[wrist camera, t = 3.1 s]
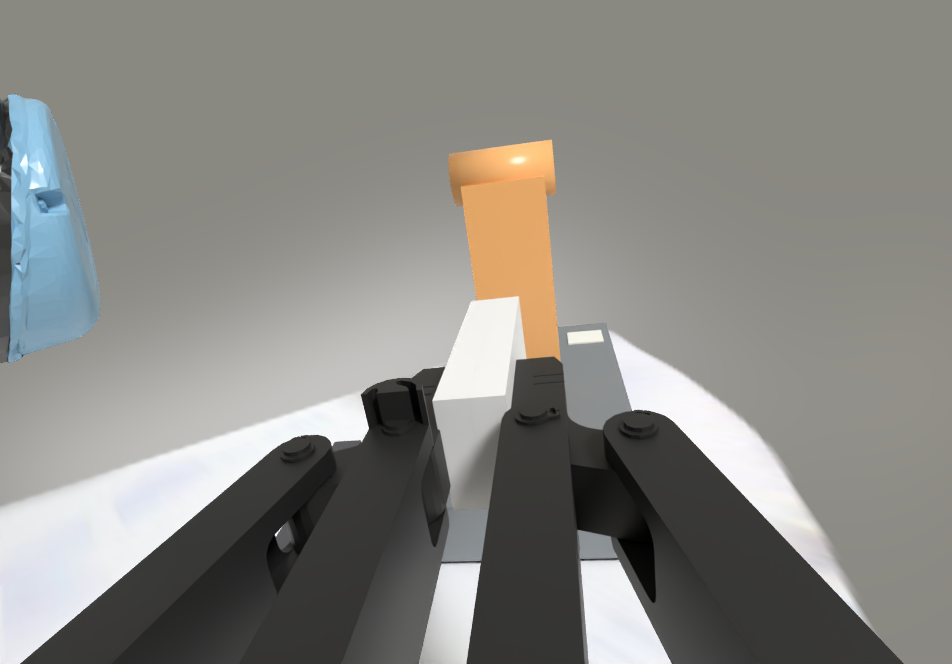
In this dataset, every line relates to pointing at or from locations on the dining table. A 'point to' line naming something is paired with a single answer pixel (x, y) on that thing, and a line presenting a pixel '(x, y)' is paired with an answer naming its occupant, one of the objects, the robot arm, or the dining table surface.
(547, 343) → the handle
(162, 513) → the dining table surface
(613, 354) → the base
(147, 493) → the dining table surface
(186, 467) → the dining table surface
